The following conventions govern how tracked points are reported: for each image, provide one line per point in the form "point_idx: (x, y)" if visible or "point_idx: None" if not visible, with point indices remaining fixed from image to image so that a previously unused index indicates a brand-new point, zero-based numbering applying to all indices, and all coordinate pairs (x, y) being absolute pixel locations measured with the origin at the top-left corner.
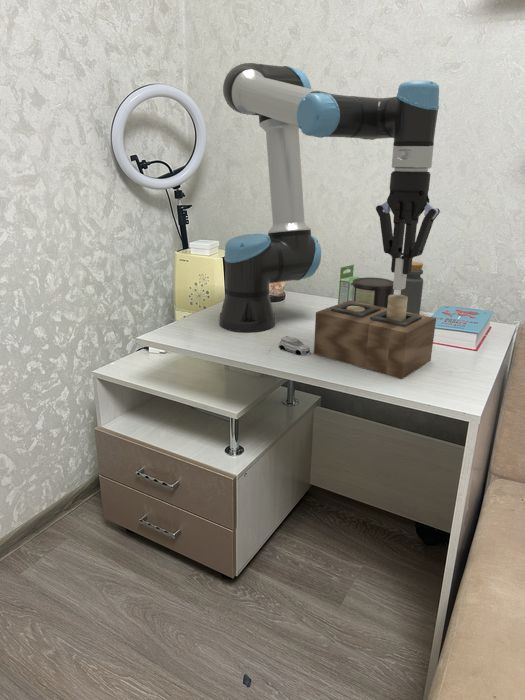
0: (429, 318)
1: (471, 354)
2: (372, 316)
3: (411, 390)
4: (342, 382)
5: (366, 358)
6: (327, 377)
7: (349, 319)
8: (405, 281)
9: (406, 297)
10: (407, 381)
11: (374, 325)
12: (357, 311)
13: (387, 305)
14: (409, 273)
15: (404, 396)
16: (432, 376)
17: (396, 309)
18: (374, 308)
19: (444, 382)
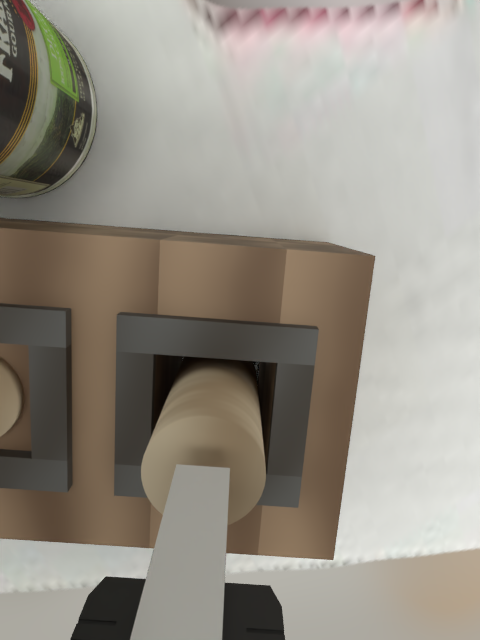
0: (347, 289)
1: (443, 62)
2: (117, 480)
3: (354, 504)
4: None
5: None
6: (124, 558)
7: (43, 537)
8: (227, 507)
9: (255, 461)
10: None
11: None
12: (5, 431)
13: (17, 93)
14: (269, 594)
15: (351, 547)
16: (375, 375)
17: None
18: (47, 341)
19: (419, 398)
